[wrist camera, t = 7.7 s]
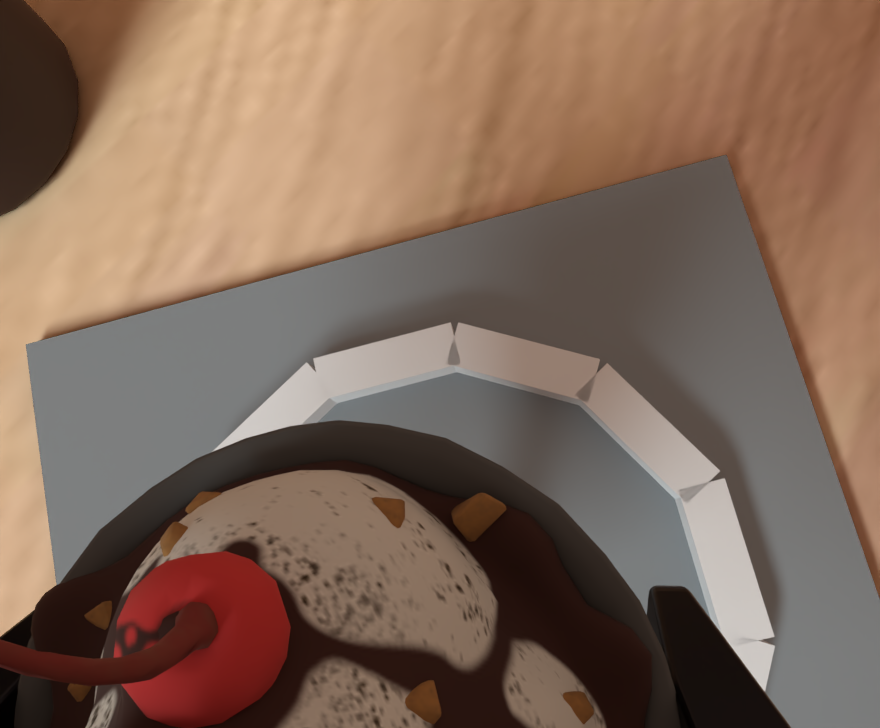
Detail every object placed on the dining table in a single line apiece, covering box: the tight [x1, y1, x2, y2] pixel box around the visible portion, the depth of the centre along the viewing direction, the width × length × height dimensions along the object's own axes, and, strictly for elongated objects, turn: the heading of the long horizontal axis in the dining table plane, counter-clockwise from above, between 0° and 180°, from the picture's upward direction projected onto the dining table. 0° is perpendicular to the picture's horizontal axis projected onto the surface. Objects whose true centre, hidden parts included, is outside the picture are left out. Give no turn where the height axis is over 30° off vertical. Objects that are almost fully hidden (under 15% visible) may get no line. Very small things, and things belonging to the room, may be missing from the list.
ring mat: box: [26, 155, 880, 728], centre depth 18 cm, size 18×18×1 cm
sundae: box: [0, 420, 681, 728], centre depth 10 cm, size 7×7×15 cm
